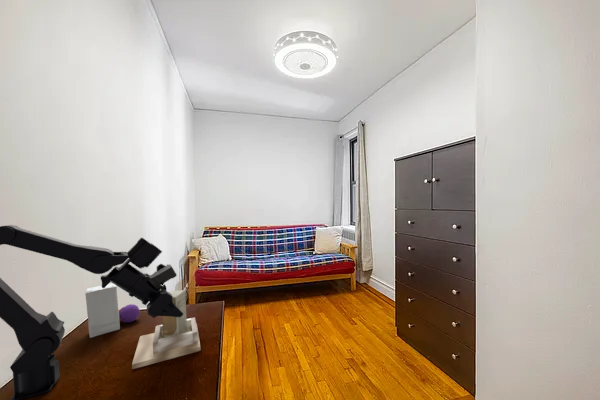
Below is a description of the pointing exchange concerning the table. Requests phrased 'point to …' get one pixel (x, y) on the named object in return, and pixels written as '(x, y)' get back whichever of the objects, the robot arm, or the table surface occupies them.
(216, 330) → the table surface
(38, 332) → the robot arm
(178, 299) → the skincare box
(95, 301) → the skincare box
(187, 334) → the collar holder
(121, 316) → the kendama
